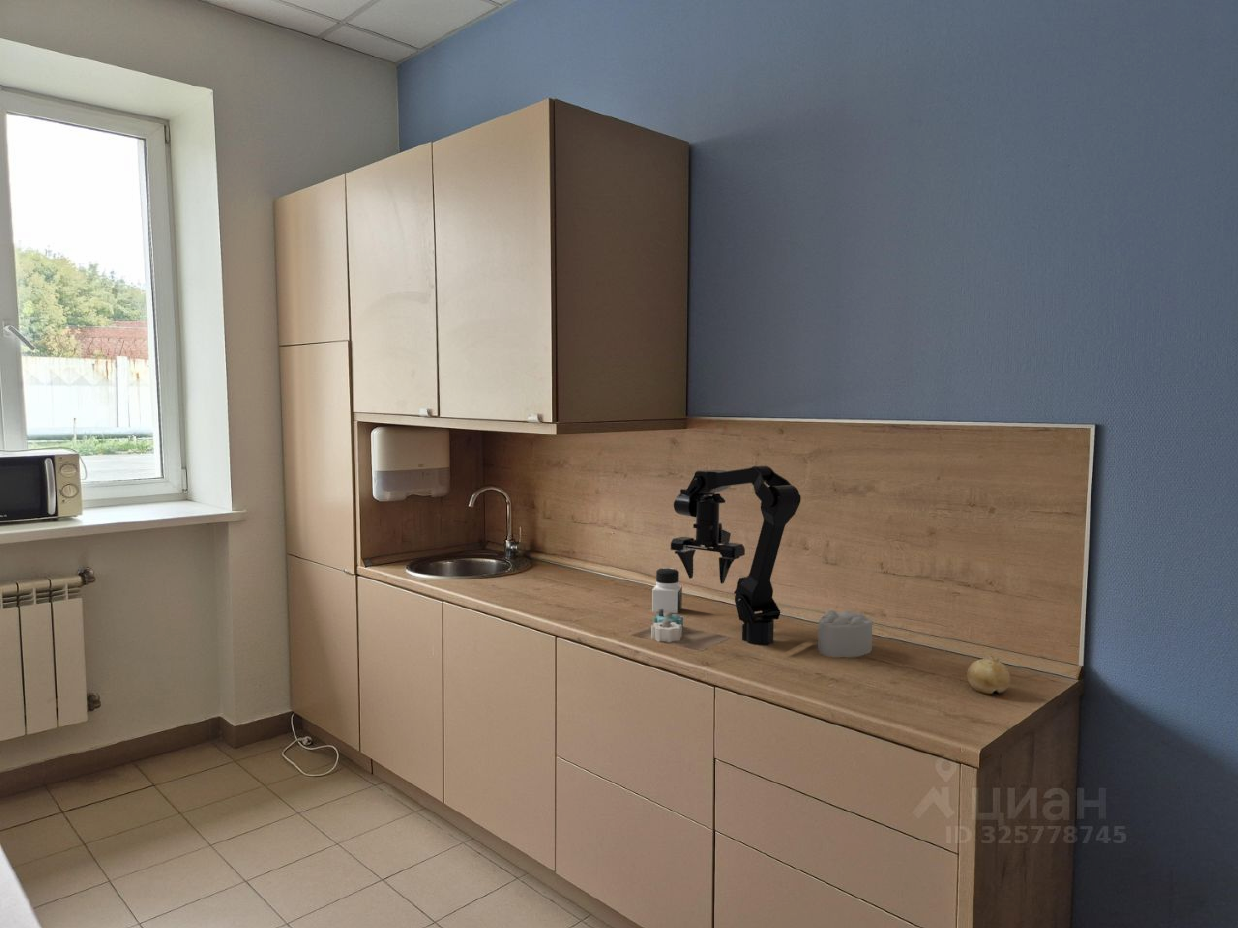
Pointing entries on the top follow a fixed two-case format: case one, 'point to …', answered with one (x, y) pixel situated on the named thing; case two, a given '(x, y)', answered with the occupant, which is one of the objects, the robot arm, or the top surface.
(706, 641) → the gear board
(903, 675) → the top surface
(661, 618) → the teal gear
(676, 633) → the off-white gear
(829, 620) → the lumpy-topped squat cylinder
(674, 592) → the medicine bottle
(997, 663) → the onion
